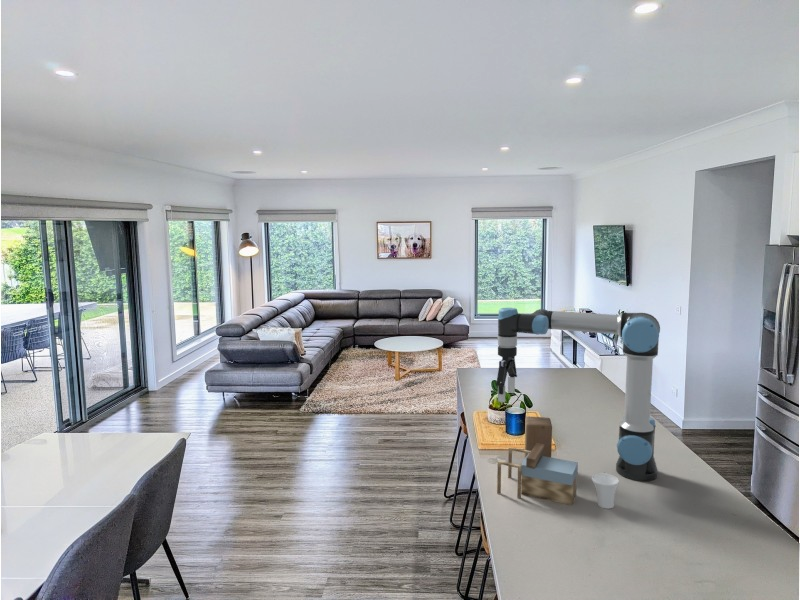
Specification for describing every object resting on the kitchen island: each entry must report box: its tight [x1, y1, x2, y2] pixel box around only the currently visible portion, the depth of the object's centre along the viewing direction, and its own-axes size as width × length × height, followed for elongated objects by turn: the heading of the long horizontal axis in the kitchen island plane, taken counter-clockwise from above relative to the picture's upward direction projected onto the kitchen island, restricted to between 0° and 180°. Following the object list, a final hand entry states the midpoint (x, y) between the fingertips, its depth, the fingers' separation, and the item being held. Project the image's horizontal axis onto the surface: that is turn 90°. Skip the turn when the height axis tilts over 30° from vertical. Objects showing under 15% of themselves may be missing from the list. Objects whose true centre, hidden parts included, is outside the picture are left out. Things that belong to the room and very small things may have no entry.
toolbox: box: [496, 446, 578, 506], centre depth 198 cm, size 26×15×12 cm, turn 62°
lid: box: [520, 453, 579, 485], centre depth 196 cm, size 18×11×4 cm, turn 62°
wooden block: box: [524, 416, 553, 459], centre depth 218 cm, size 10×10×20 cm
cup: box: [591, 472, 620, 510], centre depth 189 cm, size 9×9×10 cm
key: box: [526, 443, 545, 469], centre depth 198 cm, size 3×15×4 cm, turn 152°
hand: (506, 396), depth 221 cm, fingers open, 13 cm apart
